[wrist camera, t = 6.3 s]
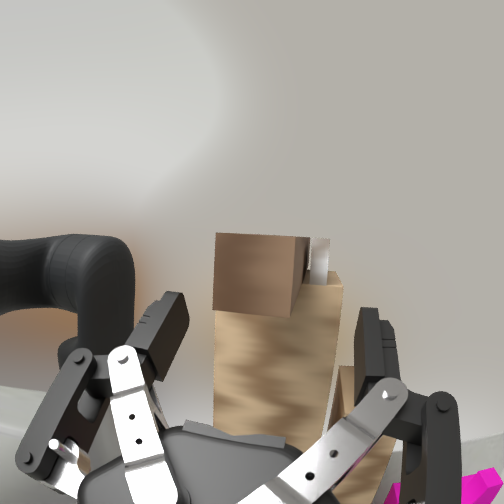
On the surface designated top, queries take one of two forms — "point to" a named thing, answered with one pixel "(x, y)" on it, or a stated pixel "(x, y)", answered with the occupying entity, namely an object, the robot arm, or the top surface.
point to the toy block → (466, 488)
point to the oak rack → (292, 375)
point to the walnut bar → (259, 273)
